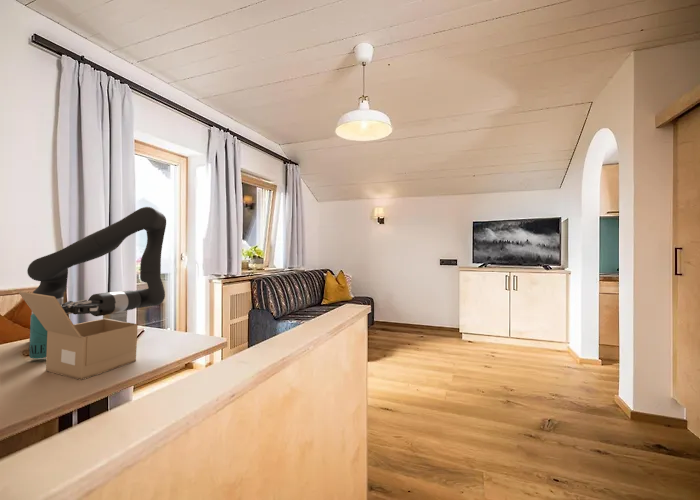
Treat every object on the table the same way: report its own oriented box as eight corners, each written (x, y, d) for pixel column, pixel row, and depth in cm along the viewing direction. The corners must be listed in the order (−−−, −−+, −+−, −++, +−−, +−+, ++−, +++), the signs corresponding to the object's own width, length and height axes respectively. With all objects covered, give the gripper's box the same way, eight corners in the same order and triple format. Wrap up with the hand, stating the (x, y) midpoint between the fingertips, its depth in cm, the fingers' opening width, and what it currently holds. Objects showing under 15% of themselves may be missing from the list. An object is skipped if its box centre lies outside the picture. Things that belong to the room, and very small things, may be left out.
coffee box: (101, 332, 149) (102, 296, 149) (117, 329, 155) (119, 294, 154) (110, 336, 145) (112, 299, 144) (127, 333, 150) (128, 297, 150)
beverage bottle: (53, 355, 120) (55, 299, 119) (54, 360, 115) (57, 302, 115) (27, 359, 115) (30, 300, 115) (28, 364, 111) (30, 304, 110)
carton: (44, 370, 107) (46, 329, 107) (103, 353, 125) (104, 318, 124) (81, 380, 102) (83, 337, 102) (137, 361, 119) (139, 324, 119)
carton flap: (47, 329, 106) (46, 330, 106) (20, 290, 99) (18, 292, 99) (81, 336, 102) (79, 337, 101) (54, 296, 94) (52, 297, 94)
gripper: (95, 290, 119) (36, 296, 102) (123, 294, 115) (67, 301, 98) (94, 311, 119) (35, 321, 102) (122, 316, 115) (66, 327, 98)
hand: (51, 311), depth 100 cm, fingers closed
